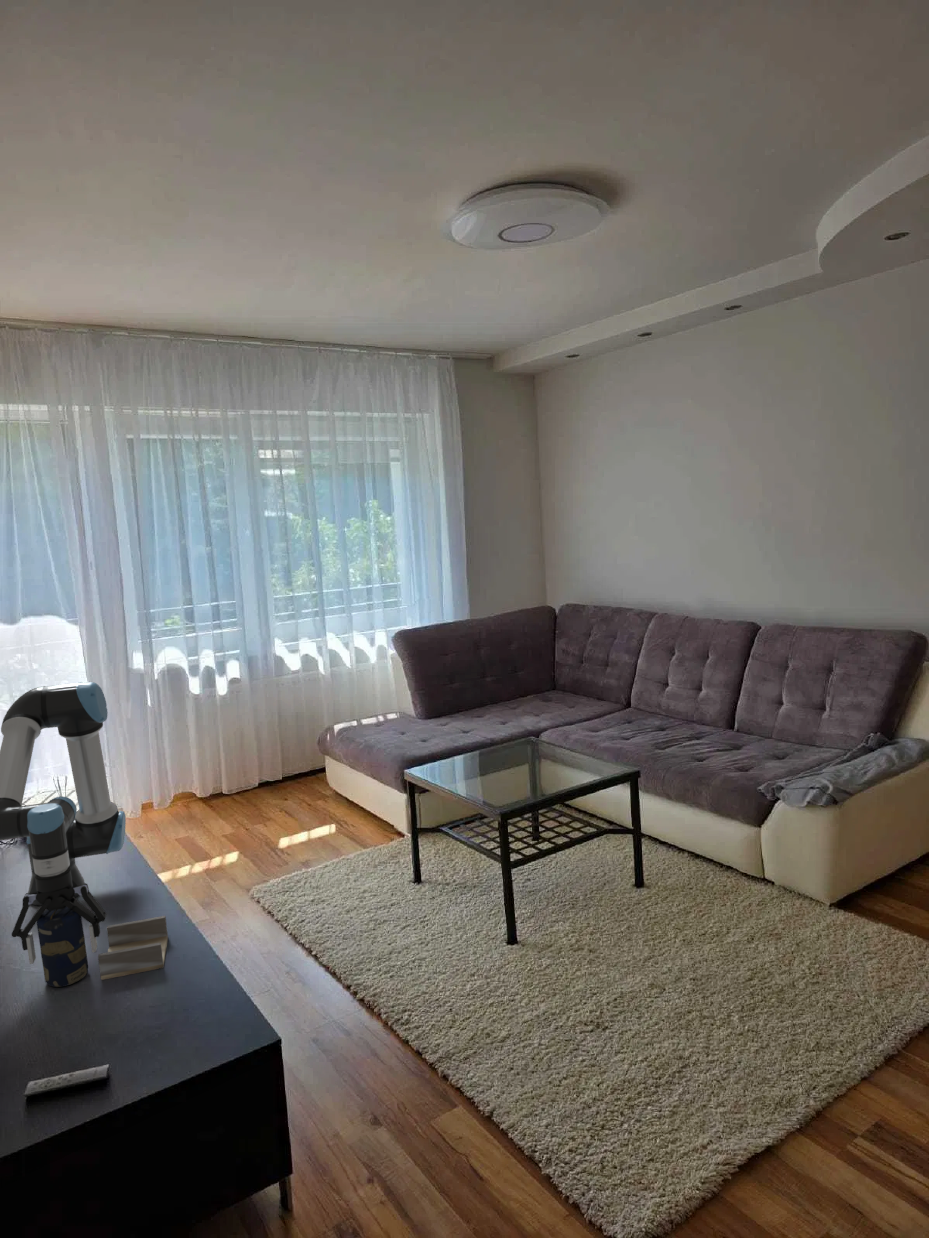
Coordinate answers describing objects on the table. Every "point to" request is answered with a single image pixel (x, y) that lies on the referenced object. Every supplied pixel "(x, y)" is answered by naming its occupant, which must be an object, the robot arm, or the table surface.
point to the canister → (62, 947)
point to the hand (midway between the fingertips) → (64, 955)
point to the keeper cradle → (134, 947)
